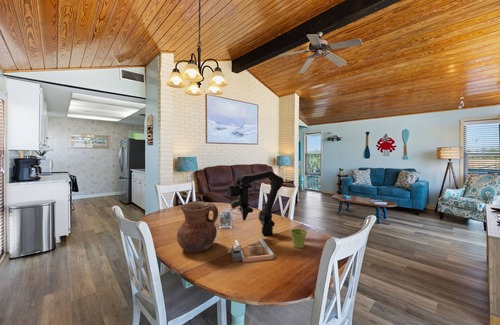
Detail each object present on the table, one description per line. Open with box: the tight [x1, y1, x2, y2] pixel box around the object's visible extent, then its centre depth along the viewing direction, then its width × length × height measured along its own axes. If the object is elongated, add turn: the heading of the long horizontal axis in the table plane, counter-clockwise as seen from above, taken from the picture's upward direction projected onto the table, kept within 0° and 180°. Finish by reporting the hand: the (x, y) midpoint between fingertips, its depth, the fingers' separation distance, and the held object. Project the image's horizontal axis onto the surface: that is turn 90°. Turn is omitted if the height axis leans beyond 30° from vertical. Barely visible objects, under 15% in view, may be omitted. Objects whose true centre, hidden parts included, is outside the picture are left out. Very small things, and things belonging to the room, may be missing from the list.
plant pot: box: [290, 228, 308, 249], centre depth 125 cm, size 9×9×9 cm
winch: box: [227, 244, 243, 262], centre depth 108 cm, size 7×6×7 cm
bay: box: [234, 237, 275, 263], centre depth 119 cm, size 16×23×2 cm
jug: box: [176, 200, 219, 254], centre depth 122 cm, size 22×21×25 cm
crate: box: [246, 242, 264, 257], centre depth 115 cm, size 7×6×4 cm
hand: (244, 220), depth 134 cm, fingers closed
